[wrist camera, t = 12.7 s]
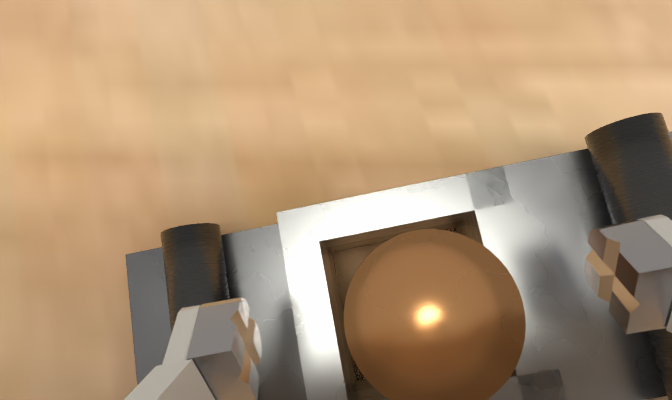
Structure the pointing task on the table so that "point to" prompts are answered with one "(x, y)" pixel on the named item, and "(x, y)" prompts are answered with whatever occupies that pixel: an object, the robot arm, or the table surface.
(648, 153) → the metal clamp fixture
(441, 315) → the copper pin
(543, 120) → the table surface
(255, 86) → the table surface
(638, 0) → the table surface
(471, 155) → the table surface
